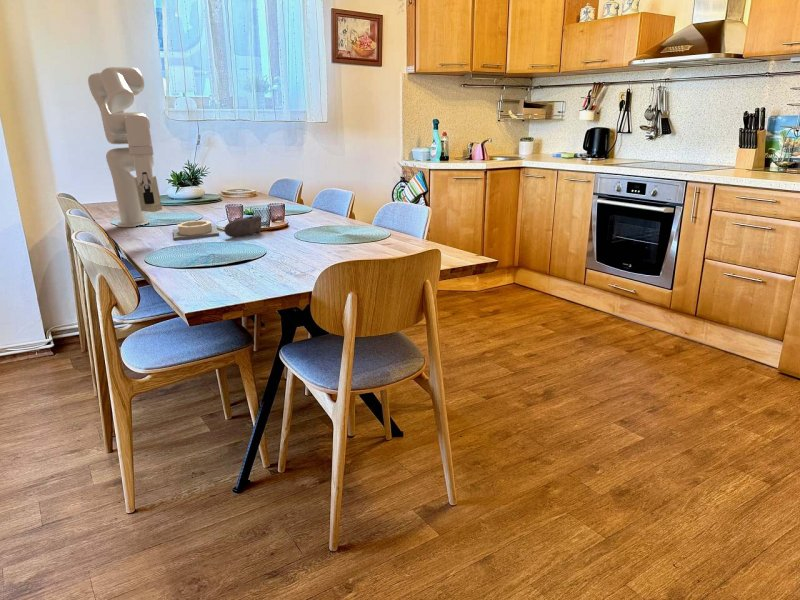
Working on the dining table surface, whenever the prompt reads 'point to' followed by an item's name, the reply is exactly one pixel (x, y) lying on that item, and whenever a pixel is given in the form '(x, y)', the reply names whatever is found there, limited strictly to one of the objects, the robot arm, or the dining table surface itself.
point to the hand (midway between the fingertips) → (149, 201)
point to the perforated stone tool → (244, 227)
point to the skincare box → (154, 187)
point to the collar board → (195, 230)
